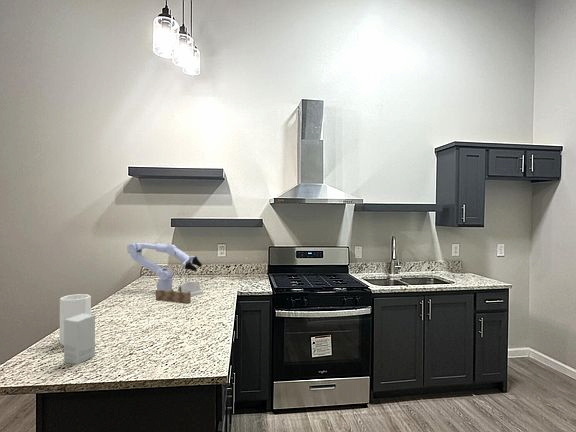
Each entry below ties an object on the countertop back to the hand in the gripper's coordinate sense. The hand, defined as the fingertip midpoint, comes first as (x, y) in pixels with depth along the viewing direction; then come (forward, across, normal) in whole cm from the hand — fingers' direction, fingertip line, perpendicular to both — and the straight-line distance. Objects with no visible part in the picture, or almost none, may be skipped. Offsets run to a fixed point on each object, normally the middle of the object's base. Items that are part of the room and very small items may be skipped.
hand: (198, 268), depth 240 cm
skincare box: (+2, -111, -12) cm, 112 cm away
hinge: (+6, -9, +16) cm, 19 cm away
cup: (-9, -96, 0) cm, 97 cm away
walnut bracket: (+2, -22, +13) cm, 26 cm away
